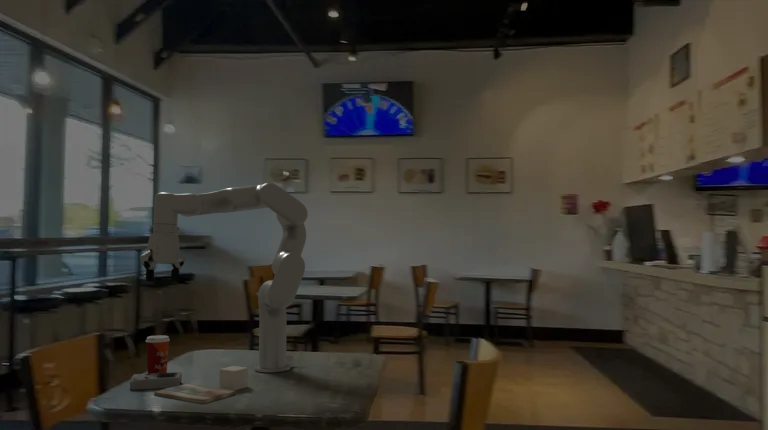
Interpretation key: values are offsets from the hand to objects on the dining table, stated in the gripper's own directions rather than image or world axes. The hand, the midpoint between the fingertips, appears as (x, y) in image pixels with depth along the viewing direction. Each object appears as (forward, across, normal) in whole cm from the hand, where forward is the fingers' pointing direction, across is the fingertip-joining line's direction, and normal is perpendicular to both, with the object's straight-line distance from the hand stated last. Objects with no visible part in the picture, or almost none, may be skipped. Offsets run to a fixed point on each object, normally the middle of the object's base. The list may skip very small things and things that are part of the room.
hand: (162, 281), depth 212 cm
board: (+32, +6, +27) cm, 42 cm away
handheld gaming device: (+33, +6, +8) cm, 34 cm away
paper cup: (+32, 0, -1) cm, 33 cm away
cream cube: (+32, -7, +29) cm, 43 cm away
